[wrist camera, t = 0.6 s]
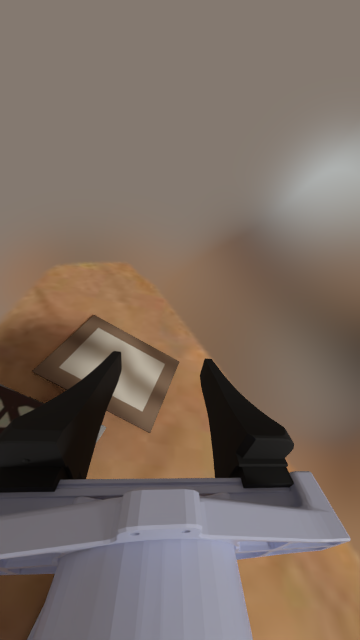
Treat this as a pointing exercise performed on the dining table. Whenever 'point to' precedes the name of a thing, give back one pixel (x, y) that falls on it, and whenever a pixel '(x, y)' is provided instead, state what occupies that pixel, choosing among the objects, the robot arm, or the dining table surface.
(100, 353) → the brown picture frame
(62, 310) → the dining table surface
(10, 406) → the food container
